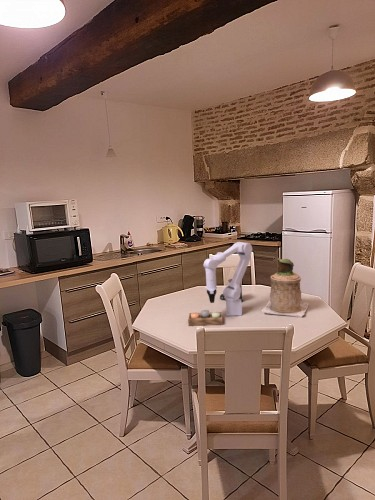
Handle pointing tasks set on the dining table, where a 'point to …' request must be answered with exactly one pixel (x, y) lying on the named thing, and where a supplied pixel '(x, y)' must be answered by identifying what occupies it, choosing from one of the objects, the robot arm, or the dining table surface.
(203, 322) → the brown wooden flat frame
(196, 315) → the peach rounded block
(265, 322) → the dining table surface
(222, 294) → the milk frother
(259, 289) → the dining table surface
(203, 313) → the key slate
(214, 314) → the key sage
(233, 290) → the robot arm
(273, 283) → the cookie jar
